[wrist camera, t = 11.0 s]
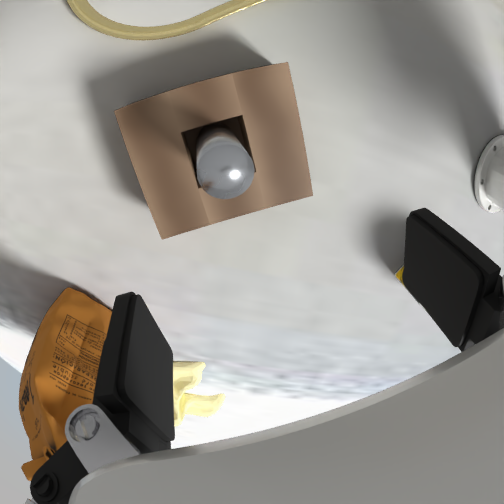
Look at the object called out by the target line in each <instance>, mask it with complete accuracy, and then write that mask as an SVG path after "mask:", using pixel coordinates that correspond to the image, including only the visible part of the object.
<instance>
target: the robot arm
mask: <svg viewBox="0 0 504 504" xmlns="http://www.w3.org/2000/svg"><path fill="white" fill-rule="evenodd" d="M475 195H476V199H477V202H478V204H479V205H480V207H481V208H482V209H484V210H485V211H487V212H489V213H497V212H499V211H501V210H503V211H504V135H499V136H497V137H495V138H494V139H492V140H491V141H490V142H489V143H488V145H487V146H486V147H485V149H484V151H483V152H482V155H481V157H480V159H479V162H478V165H477V169H476V174H475ZM500 270H501V268H500V267H499V266H498V265H497V264H496V263H494V262H493V261H492V260H491V259H490V258H489V257H488V256H486V255H485V254H484V253H483V252H482V251H480V250H479V249H478V248H477V247H476V246H474V245H473V244H472V243H471V242H470V241H468V240H467V239H466V238H465V237H463V236H462V235H461V234H460V233H458V232H457V231H456V230H455V229H453V228H452V227H451V226H449V225H448V224H447V223H446V222H444V221H443V220H442V219H440V218H439V217H438V216H436V215H435V214H434V213H432V212H431V211H429V210H428V209H426V208H422V209H418V210H415V211H412V212H410V214H409V217H407V220H406V240H405V257H404V270H403V281H404V284H405V286H406V287H407V288H408V289H409V291H410V292H411V293H412V294H413V295H414V297H415V298H416V299H417V300H418V301H419V303H420V304H421V305H422V306H423V308H424V309H425V310H426V311H427V312H428V314H429V315H430V316H431V317H432V319H433V320H434V321H435V323H436V324H437V325H438V326H439V328H440V329H441V330H442V331H443V333H444V334H445V335H446V337H447V338H448V339H449V341H450V342H451V343H452V345H453V346H455V347H458V348H459V349H460V350H461V353H459V354H458V355H456V356H454V357H452V358H450V359H448V360H446V361H445V362H443V363H441V364H439V365H437V366H435V367H433V368H431V369H429V370H427V371H425V372H423V373H421V374H418V375H416V376H414V377H412V378H410V379H408V380H405V381H403V382H401V383H399V384H397V385H394V386H392V387H390V388H387V389H385V390H383V391H380V392H378V393H375V394H373V395H370V396H368V397H365V398H363V399H360V400H358V401H355V402H352V403H350V404H347V405H344V406H342V407H339V408H336V409H333V410H330V411H327V412H324V413H321V414H318V415H315V416H312V417H309V418H306V419H302V420H299V421H296V422H292V423H289V424H286V425H282V426H278V427H275V428H271V429H267V430H263V431H259V432H255V433H251V434H247V435H243V436H238V437H234V438H229V439H224V440H219V441H214V442H209V443H204V444H199V445H193V446H188V447H182V448H175V449H171V442H170V441H173V440H174V438H175V430H174V399H173V353H172V350H171V347H170V346H169V344H168V342H167V341H166V339H165V337H164V336H163V334H162V332H161V331H160V329H159V327H158V325H157V324H156V322H155V320H154V318H153V317H152V315H151V313H150V311H149V309H148V308H147V306H146V304H145V302H144V300H143V299H142V297H141V296H140V295H139V294H138V295H135V293H134V292H129V293H125V294H122V295H118V296H116V298H115V302H114V306H113V310H112V314H111V319H110V323H109V327H108V331H107V336H106V340H105V341H104V344H103V348H102V353H101V358H100V363H99V368H98V373H97V378H96V384H95V389H94V395H93V401H92V404H85V405H82V406H79V407H78V408H76V409H75V410H74V411H73V412H72V413H71V414H70V415H69V417H68V419H67V421H66V425H65V435H66V438H67V441H66V442H65V443H64V444H63V445H62V446H61V447H60V448H59V449H58V450H57V451H56V452H55V453H54V454H53V455H52V456H51V457H50V458H49V459H48V460H47V461H46V462H45V463H44V464H43V465H42V466H41V467H40V468H39V469H38V470H37V471H36V472H35V474H34V475H33V477H32V480H31V485H30V490H31V495H32V497H33V498H32V500H30V499H27V501H26V503H25V504H504V276H503V277H501V276H500V275H499V274H500Z"/></svg>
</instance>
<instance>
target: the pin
mask: <svg viewBox="0 0 504 504" xmlns="http://www.w3.org/2000/svg"><path fill="white" fill-rule="evenodd" d="M196 153H197V178H198V181H199V184H200V186H201V187H202V189H203V190H204V191H205V192H206V193H207V194H209V195H211V196H212V197H215V198H218V199H231V198H234V197H237V196H239V195H241V194H242V193H244V192H245V191H246V190H247V189H248V188H249V186H250V185H251V183H252V181H253V178H254V164H253V161H252V159H251V157H250V156H249V154H248V153H247V151H246V150H245V149H244V147H243V146H242V144H241V143H240V142H239V140H238V139H237V137H236V136H235V135H234V133H233V132H232V130H231V129H230V128H228V127H227V126H225V125H223V124H217V123H216V124H210V125H208V126H206V127H204V128H203V129H202V130H201V131H200V133H199V134H198V136H197V140H196Z"/></svg>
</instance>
